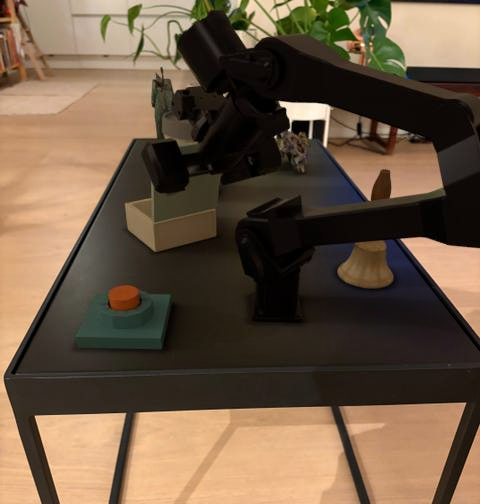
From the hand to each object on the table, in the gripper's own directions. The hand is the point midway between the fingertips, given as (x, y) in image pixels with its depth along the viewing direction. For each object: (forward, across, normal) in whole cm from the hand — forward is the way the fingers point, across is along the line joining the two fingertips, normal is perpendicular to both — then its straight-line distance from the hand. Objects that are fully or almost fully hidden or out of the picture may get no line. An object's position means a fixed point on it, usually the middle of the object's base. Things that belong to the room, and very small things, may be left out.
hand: (194, 187), depth 75 cm
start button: (-2, +16, +14) cm, 22 cm away
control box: (0, +16, +16) cm, 23 cm away
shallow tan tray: (+16, -1, 0) cm, 16 cm away
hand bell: (-4, -19, +21) cm, 28 cm away
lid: (+4, -1, -3) cm, 5 cm away
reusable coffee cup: (+27, -14, -10) cm, 32 cm away
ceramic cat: (+43, -20, -26) cm, 54 cm away
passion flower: (+29, -39, -12) cm, 50 cm away
